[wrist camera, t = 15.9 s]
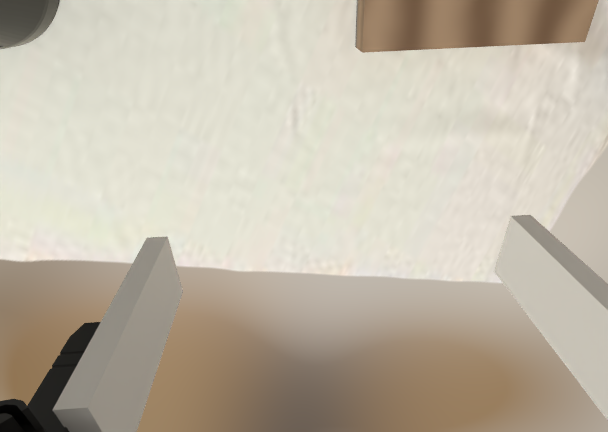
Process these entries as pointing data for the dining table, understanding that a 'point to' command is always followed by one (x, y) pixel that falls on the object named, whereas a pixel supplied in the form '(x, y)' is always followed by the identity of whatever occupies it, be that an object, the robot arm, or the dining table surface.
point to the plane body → (469, 23)
